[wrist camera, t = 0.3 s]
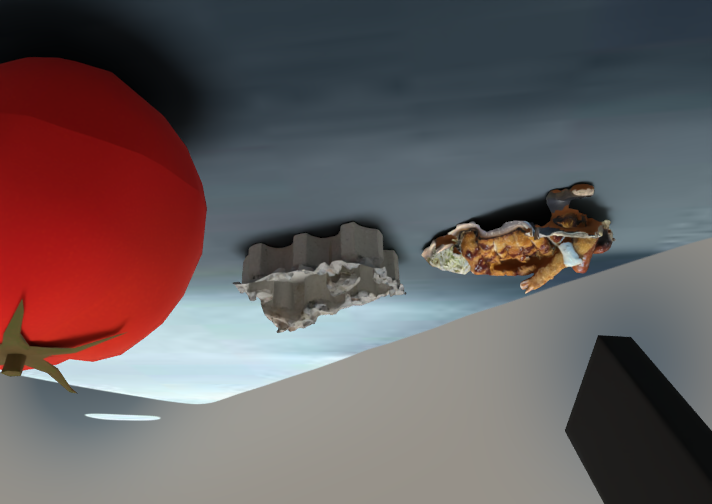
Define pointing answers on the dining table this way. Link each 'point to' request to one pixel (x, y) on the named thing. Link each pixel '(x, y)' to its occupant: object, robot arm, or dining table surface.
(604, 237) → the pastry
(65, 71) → the tomato
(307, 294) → the egg carton
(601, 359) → the robot arm
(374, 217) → the dining table surface
